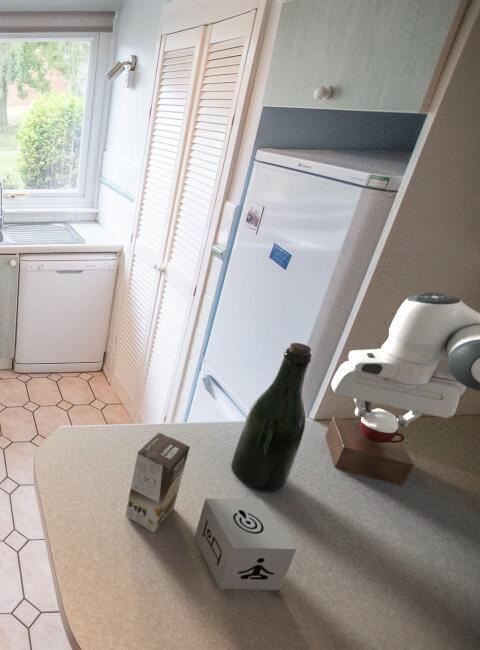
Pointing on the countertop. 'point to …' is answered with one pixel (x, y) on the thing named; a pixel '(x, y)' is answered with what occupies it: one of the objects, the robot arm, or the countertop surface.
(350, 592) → the countertop surface
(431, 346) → the robot arm
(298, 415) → the beer bottle
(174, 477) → the coffee box
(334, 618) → the countertop surface
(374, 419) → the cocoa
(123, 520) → the countertop surface
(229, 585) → the icon cube
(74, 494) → the countertop surface
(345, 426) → the walnut block
